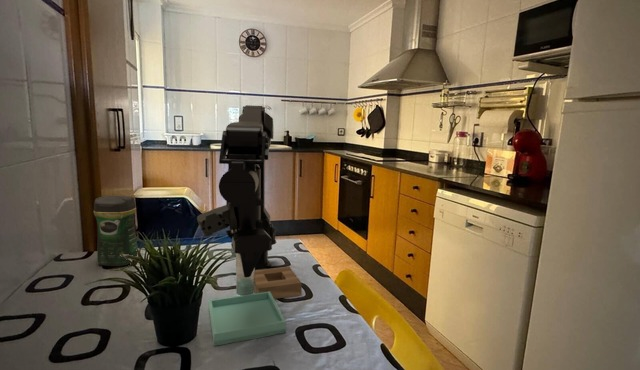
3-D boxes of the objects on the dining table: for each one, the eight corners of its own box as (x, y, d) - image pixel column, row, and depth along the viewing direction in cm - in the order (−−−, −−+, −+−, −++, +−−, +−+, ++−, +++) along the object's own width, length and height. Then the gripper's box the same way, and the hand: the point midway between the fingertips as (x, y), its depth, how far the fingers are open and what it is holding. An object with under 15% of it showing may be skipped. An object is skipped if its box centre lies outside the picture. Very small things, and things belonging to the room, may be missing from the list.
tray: (208, 309, 73) (208, 299, 72) (269, 300, 77) (269, 291, 77) (213, 346, 61) (213, 334, 60) (285, 332, 65) (286, 321, 65)
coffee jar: (143, 256, 101) (140, 193, 98) (129, 267, 93) (125, 199, 90) (109, 256, 100) (105, 192, 97) (92, 266, 92) (87, 198, 89)
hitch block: (250, 282, 86) (250, 271, 86) (289, 277, 90) (289, 266, 89) (258, 301, 77) (258, 288, 76) (301, 294, 80) (301, 282, 80)
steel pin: (230, 287, 70) (229, 239, 68) (256, 284, 71) (256, 237, 70) (233, 299, 65) (233, 248, 63) (261, 295, 67) (261, 245, 65)
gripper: (197, 186, 71) (199, 259, 73) (202, 206, 53) (204, 300, 56) (252, 184, 75) (252, 254, 77) (273, 202, 58) (272, 291, 60)
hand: (245, 272), depth 67 cm, fingers closed on steel pin, 4 cm apart
